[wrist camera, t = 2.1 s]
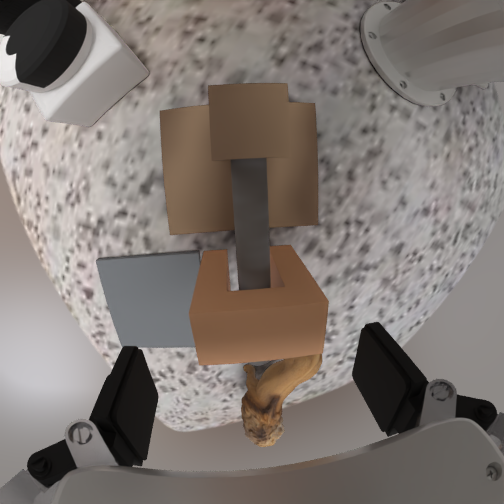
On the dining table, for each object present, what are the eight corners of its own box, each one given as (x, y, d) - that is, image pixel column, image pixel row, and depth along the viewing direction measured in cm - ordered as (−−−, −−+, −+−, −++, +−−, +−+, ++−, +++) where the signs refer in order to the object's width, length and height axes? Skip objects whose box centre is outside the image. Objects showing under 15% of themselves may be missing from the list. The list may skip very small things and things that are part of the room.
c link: (290, 244, 19) (328, 301, 11) (290, 283, 20) (322, 353, 12) (203, 250, 18) (188, 313, 11) (208, 289, 19) (199, 365, 12)
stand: (309, 106, 20) (383, 65, 9) (311, 278, 25) (364, 363, 14) (164, 113, 19) (100, 73, 8) (182, 288, 24) (153, 383, 13)
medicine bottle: (115, 30, 16) (53, -29, 4) (151, 74, 18) (89, 13, 7) (59, 81, 16) (-24, 57, 5) (90, 128, 19) (-4, 119, 7)
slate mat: (199, 250, 23) (198, 253, 23) (212, 342, 27) (211, 346, 26) (98, 258, 23) (95, 260, 22) (123, 343, 26) (122, 346, 25)
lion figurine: (271, 395, 30) (282, 454, 22) (230, 388, 29) (233, 450, 21) (328, 298, 26) (365, 355, 18) (280, 284, 25) (303, 344, 17)
